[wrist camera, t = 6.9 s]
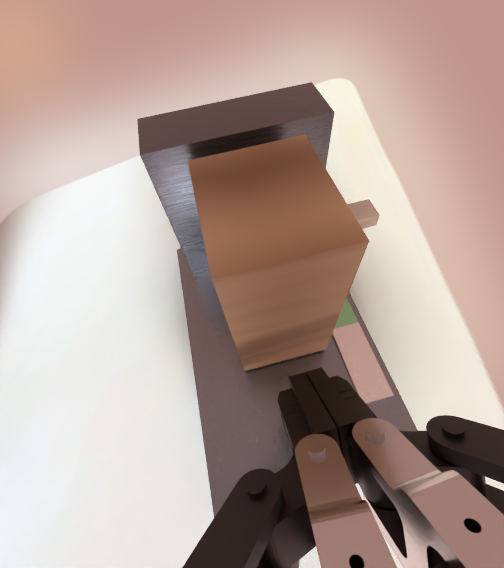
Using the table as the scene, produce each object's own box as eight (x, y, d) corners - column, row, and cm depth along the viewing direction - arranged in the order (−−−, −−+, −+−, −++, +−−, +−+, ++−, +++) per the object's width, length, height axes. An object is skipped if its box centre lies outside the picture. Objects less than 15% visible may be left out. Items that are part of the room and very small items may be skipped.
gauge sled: (360, 339, 18) (435, 224, 9) (244, 371, 17) (212, 279, 9) (324, 262, 21) (354, 123, 12) (225, 287, 20) (187, 160, 12)
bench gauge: (421, 455, 16) (634, 439, 6) (218, 516, 15) (115, 600, 6) (310, 226, 25) (330, 78, 15) (180, 257, 24) (117, 123, 15)
